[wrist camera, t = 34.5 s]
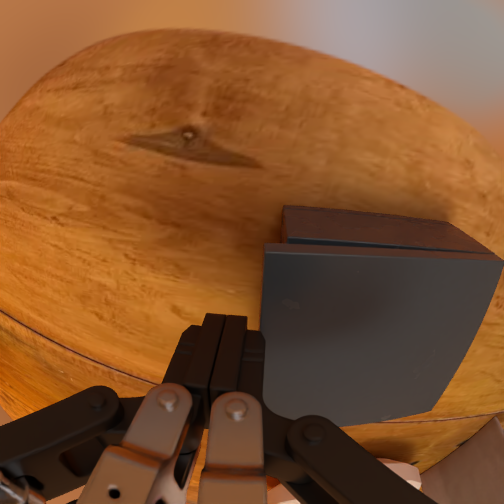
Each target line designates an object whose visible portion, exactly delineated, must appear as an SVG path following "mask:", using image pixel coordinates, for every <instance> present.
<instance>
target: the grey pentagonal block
mask: <svg viewBox="0 0 504 504" xmlns="http://www.w3.org/2000/svg"><path fill="white" fill-rule="evenodd" d="M420 478H421V482H422V484H421V486H422V490H423V493H424V494H425V495H427V496H428V497H430V498H431V499H432V500H434V501H435V502H437V503H438V504H504V431H503V428H502V426H501V424H500V422H499V420H498V418H497V417H496V416H495V417H494V418H493V419H492V420H491V421H489V422H488V423H487V424H486V425H485V426H484V427H483V428H482V429H481V430H480V431H478V432H477V433H476V434H475V435H474V436H473V437H471V438H470V439H469V440H468V441H466V442H465V443H464V444H463V445H462V446H460V447H459V448H458V449H456V450H455V451H454V452H452V453H451V454H450V455H448V456H447V457H446V458H444V459H443V460H442V461H440V462H439V463H437V464H436V465H434V466H433V467H431V468H430V469H428V470H427V471H425V472H424V473H422V474H421V475H420Z"/></svg>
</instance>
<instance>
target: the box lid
mask: <svg viewBox="0 0 504 504" xmlns="http://www.w3.org/2000/svg"><path fill="white" fill-rule="evenodd" d="M503 266H504V260H502V259H501V258H500V257H498V256H497V255H492V254H476V253H460V252H443V251H425V250H407V249H388V248H368V247H347V246H326V245H304V244H280V243H264V245H263V263H262V280H261V297H260V313H259V329H258V331H261V333H262V335H263V336H264V338H265V340H266V345H265V363H264V380H263V400H264V403H265V404H266V406H267V407H268V408H269V409H270V410H271V411H272V412H274V413H275V414H277V415H279V416H282V417H285V418H289V419H292V420H296V419H298V418H300V417H302V416H306V415H319V416H322V417H325V418H327V419H329V420H330V421H332V422H333V423H334V424H335V425H336V426H338V427H344V426H353V425H361V424H368V423H374V422H380V421H386V420H392V419H397V418H402V417H407V416H411V415H416V414H420V413H424V412H428V411H431V410H432V408H433V407H434V406H435V404H436V403H437V401H438V400H439V398H440V397H441V395H442V394H443V392H444V391H445V389H446V387H447V386H448V384H449V383H450V381H451V379H452V378H453V376H454V374H455V373H456V371H457V369H458V368H459V366H460V364H461V362H462V361H463V359H464V357H465V355H466V353H467V351H468V349H469V347H470V346H471V344H472V342H473V340H474V338H475V336H476V334H477V331H478V329H479V327H480V325H481V323H482V321H483V318H484V316H485V314H486V312H487V309H488V307H489V304H490V302H491V300H492V297H493V294H494V292H495V289H496V287H497V284H498V281H499V278H500V275H501V272H502V269H503Z"/></svg>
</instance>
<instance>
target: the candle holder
mask: <svg viewBox="0 0 504 504" xmlns="http://www.w3.org/2000/svg"><path fill="white" fill-rule="evenodd" d="M377 459H378V460H379V461H380V462H382V463H383V464H384V465H386V466H387V467H388V468H390V469H391V470H392V471H393V472H395V473H396V474H397V475H399V476H400V477H401V478H403V479H404V480H406V481H407V482H408V483H410V484H411V485H412V486H414V487H415V488H417V489H418V490H419V488H420V486H421V484H422V482H421V478H420V474H419V470H418V468H416V467H414V466H412V465H410V464H407V463H403V462H399V461H395V460H391V459H385V458H377ZM267 504H301V503H300V502H299V501H298V500H297V499H296V498H295V497H294V496H293V495H292V494H291V493H290V492H289V491H288V490H287V489H286V488H285V487H284V486H283V485H282V484H281V483H280V484H279V485H277V486H275V487H274V488H272V489H270V490H269V491H267Z"/></svg>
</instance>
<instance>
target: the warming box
mask: <svg viewBox="0 0 504 504" xmlns="http://www.w3.org/2000/svg"><path fill="white" fill-rule="evenodd" d="M280 244H304V245H326V246H347V247H368V248H388V249H407V250H425V251H443V252H460V253H476V254H492V255H495V254H494V253H493V252H492V251H490V250H489V249H487V248H486V247H485V246H483V245H482V244H480V243H479V242H478V241H476V240H475V239H473V238H472V237H470V236H469V235H467V234H466V233H464V232H463V231H461V230H460V229H458V228H457V227H455V226H453V225H452V224H450V223H449V222H444V221H437V220H430V219H422V218H414V217H407V216H398V215H390V214H381V213H371V212H362V211H352V210H341V209H330V208H318V207H305V206H291V205H284V206H283V214H282V228H281V241H280Z"/></svg>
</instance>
